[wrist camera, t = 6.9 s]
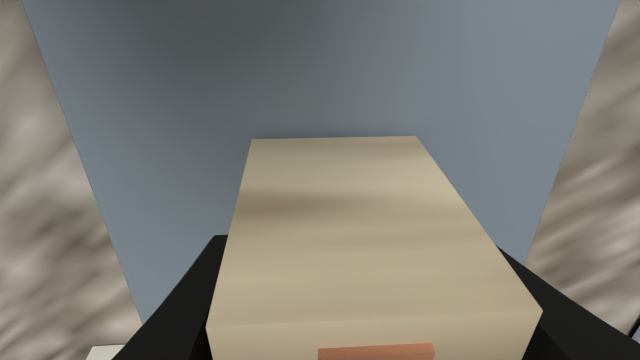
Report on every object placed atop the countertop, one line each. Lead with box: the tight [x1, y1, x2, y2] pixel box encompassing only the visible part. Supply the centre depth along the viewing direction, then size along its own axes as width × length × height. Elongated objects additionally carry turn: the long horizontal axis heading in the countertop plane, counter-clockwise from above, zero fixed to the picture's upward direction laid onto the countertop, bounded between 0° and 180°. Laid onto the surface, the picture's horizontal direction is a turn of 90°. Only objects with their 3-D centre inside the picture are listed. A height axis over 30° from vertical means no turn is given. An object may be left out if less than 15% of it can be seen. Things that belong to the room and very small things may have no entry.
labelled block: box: [206, 136, 543, 360], centre depth 9 cm, size 4×4×6 cm
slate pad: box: [21, 0, 620, 324], centre depth 12 cm, size 14×13×1 cm
